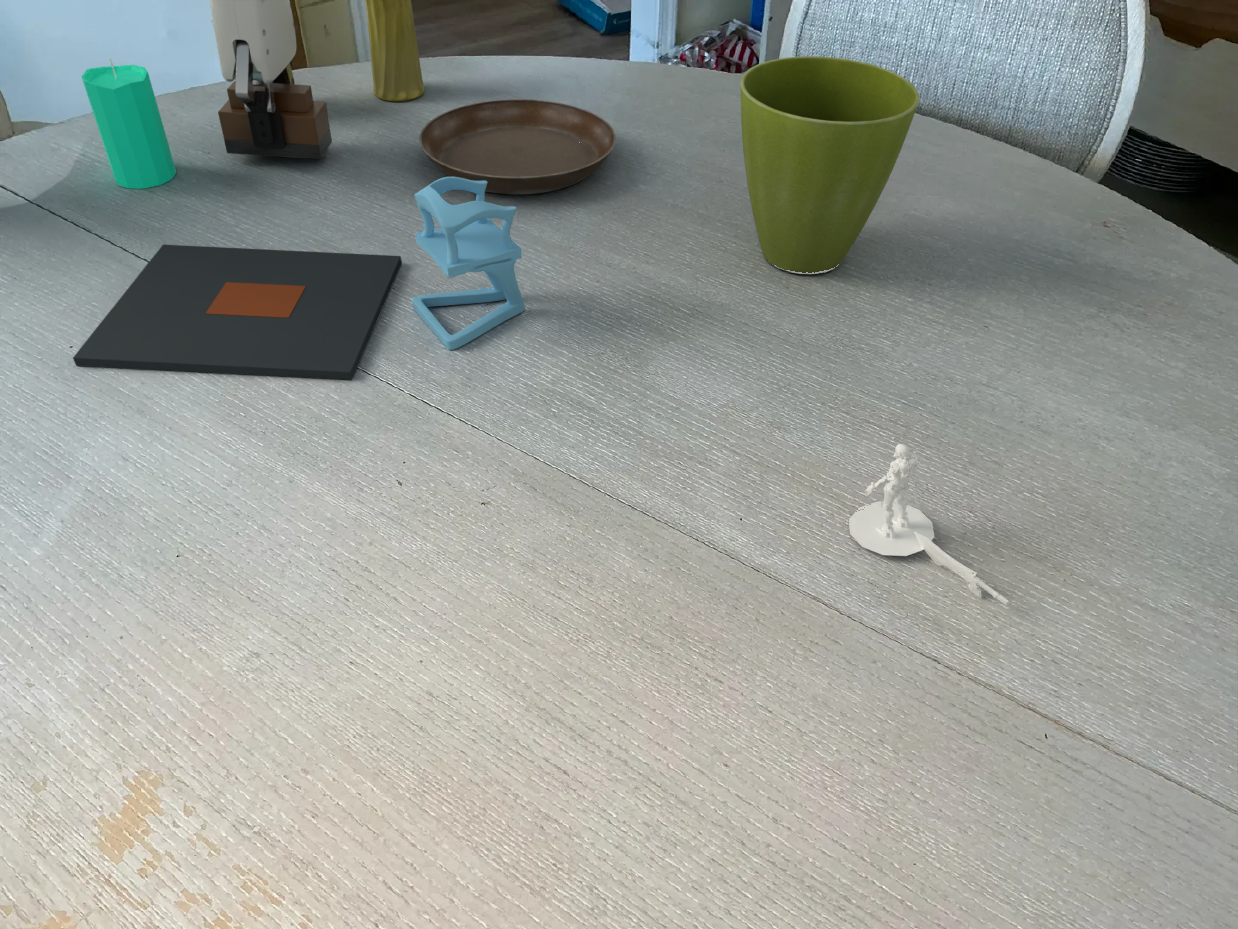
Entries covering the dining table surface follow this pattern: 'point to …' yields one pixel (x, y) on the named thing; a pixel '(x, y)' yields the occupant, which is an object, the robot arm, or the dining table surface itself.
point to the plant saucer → (518, 144)
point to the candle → (130, 125)
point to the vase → (394, 50)
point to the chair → (468, 255)
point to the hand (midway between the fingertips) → (278, 135)
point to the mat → (245, 313)
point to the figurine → (904, 523)
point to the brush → (299, 121)
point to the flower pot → (819, 152)
